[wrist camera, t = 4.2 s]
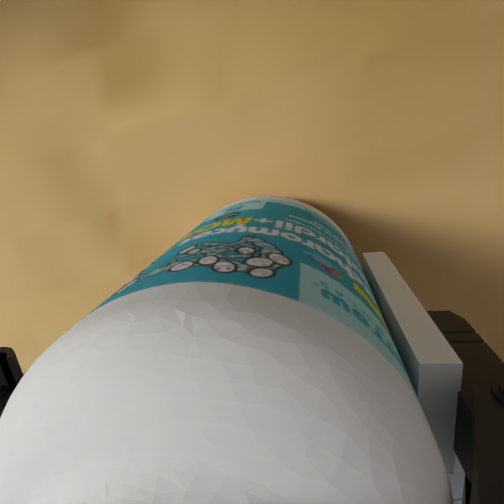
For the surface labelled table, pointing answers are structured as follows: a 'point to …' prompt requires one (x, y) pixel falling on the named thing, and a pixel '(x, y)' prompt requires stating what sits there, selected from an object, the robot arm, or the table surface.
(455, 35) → the table surface
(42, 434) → the pill bottle
